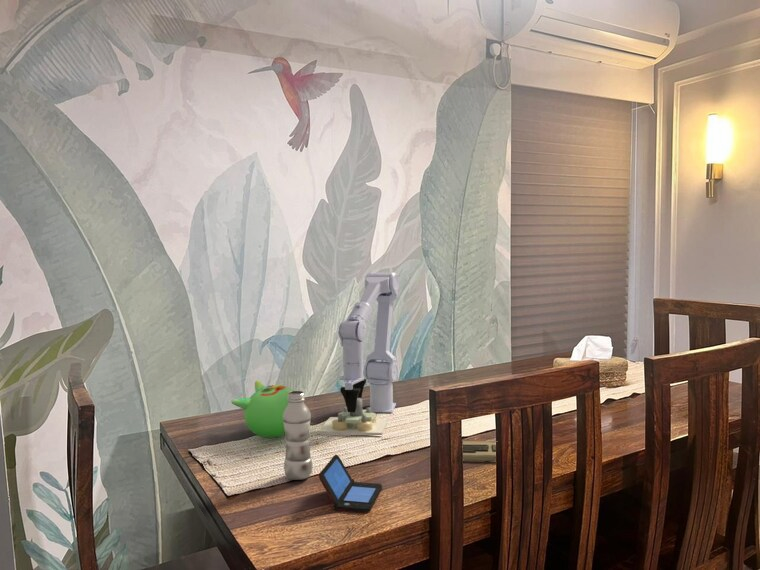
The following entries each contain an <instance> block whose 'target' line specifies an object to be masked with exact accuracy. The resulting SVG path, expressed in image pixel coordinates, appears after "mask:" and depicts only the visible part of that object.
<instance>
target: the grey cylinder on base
mask: <svg viewBox="0 0 760 570" xmlns="http://www.w3.org/2000/svg"><path fill="white" fill-rule="evenodd" d="M339 413H340V414H342V419H343V420H345V423H356V424H359V423H360V422H361V420H362V415H363V414H365V415H366V421H372V420H373V418H374V417H375V414H376V412H372V413H366V409H363V398H357V406H356V411H355V412H348V411H347V412H343V411H341V412H339Z"/></svg>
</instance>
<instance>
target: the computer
mask: <svg viewBox="0 0 760 570" xmlns="http://www.w3.org/2000/svg"><path fill="white" fill-rule="evenodd" d="M496 442H497V441H478V440H477V441H469V440H468V441H467V440H466V441H465V440H463V459H464V462H465V463H466V461H467V463H469V462H471V463H485V462H484V461H495V460H496Z"/></svg>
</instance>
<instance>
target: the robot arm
mask: <svg viewBox="0 0 760 570" xmlns="http://www.w3.org/2000/svg"><path fill="white" fill-rule="evenodd" d="M364 277H365V278H364V287H365V288H364V292H363V294H362V297H361V299H360V301H359V302H356V303H355V304H354V305H353V307H352V309H351V312H350V313H349V315H348V317H347V318H346V319H345V320H343V321H342V322H341V323H340V324H339V327H338V337H339V339H340V346H341V347H342V362H343V363H342V366H343V367H342V368H343V371H342V372H343V375H340V376H339V380H342V381H343V383H344V386H341V387H340V388H339V389H340V394H341V395H342V397H343V399H344V403H345V407H347V412H355V411H356V406H357V398H362V397H363V392H364V388H365V385H366V383H369V396H370V397H369V401H370V403H369V404H370V405H369V407H370V412H372V413H390V414H391V413H393V412H394V410H395V408H396V405H397V402H394V397H393V395H394V392H393V389H394V388H393V383H394V382H395V381H396V380H397V378H398V375H399V371H398V370H399V369H398V359H397V358H396V356H394V354H393V353H391V350H390V348H391V336H392V325H393V324H392V323H393V311H394V301H396V300H397V299H398V298H399V291H400V280H399V276H398V274H397V273H396V272H371V271H370V272H367V273H366V275H365V276H364ZM375 301H377V313H376V315H377V316H376V323H375V324H376V325H375V326H376V327H375V335H374V346H373V347H374V349H373V351H372V352H371V353H370V354H368V355H367V356H366V359H365V364H364V352H363V347H364V346H363V343H364V342H363V341H364V339H365V338H366V336H367V329H368V325H367V324H368V323H369V320H370V318H371V316H372V314H373V309H372V307H373V305H374V303H375ZM362 399H363V398H362Z"/></svg>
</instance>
